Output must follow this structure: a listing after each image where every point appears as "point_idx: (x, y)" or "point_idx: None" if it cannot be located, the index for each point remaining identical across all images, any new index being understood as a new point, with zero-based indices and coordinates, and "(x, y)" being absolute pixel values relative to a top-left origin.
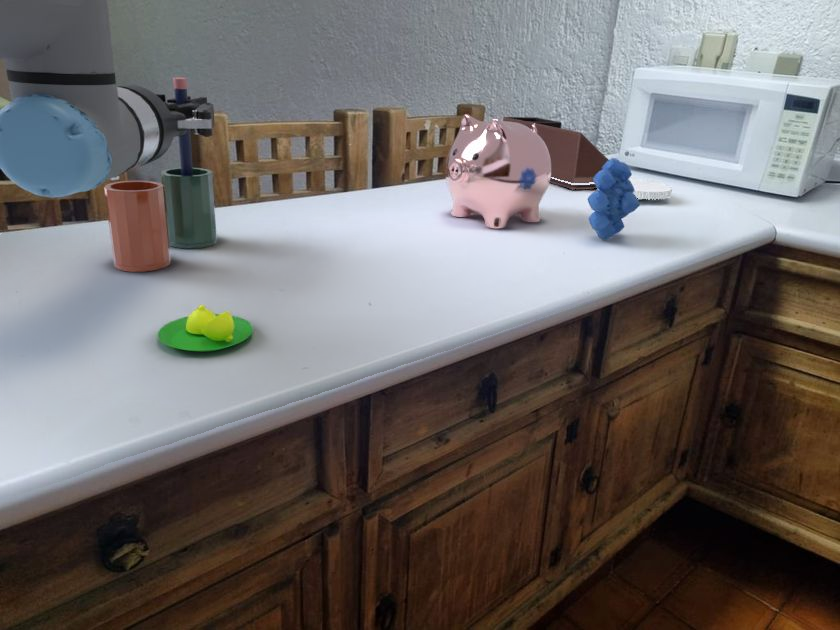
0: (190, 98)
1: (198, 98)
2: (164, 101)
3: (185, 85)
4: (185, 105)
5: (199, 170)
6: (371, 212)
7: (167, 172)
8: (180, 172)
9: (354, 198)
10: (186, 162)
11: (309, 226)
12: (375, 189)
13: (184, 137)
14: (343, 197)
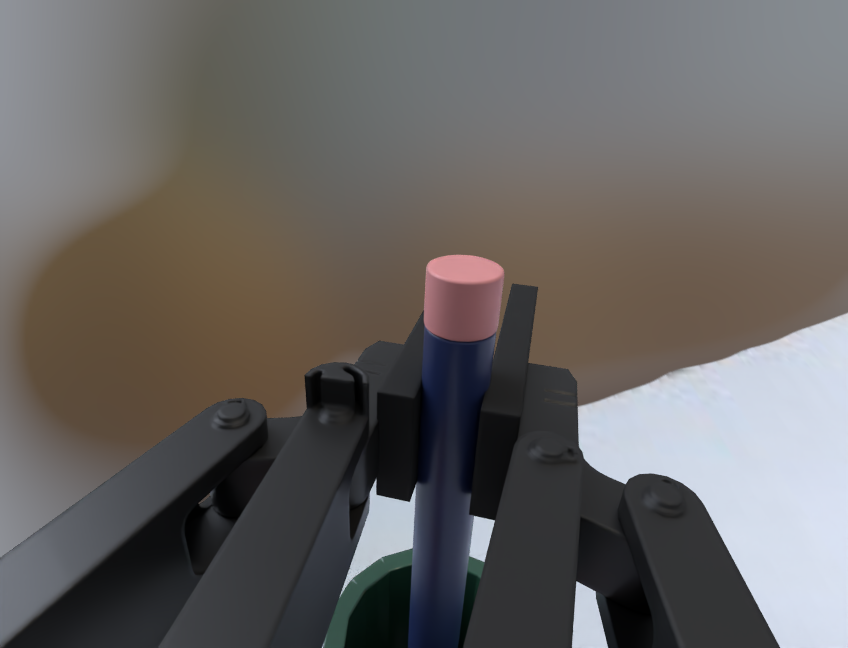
0: None
1: (519, 319)
2: (361, 416)
3: (496, 316)
4: (547, 643)
5: (475, 577)
6: (841, 493)
7: (351, 617)
8: (401, 579)
9: (737, 397)
10: (439, 631)
11: None
12: (749, 351)
13: (446, 553)
14: (710, 391)
